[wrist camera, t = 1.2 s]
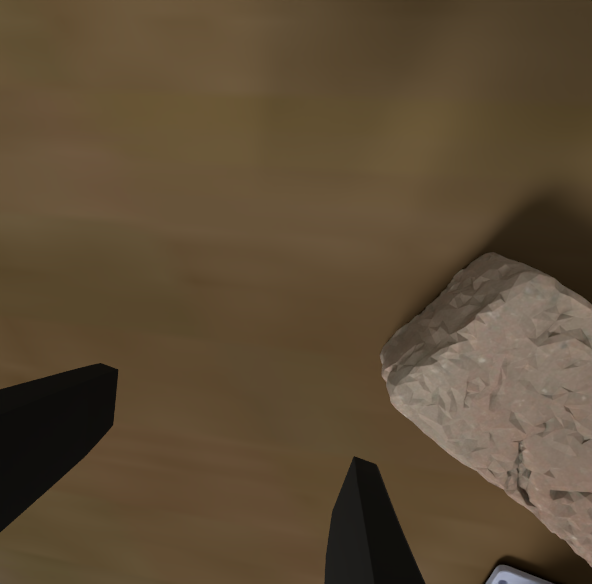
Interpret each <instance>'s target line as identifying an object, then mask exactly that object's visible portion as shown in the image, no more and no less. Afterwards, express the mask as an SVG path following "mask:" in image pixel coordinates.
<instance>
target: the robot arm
mask: <svg viewBox="0 0 592 584" xmlns="http://www.w3.org/2000/svg"><path fill="white" fill-rule="evenodd" d="M117 379H118V369H115V368H112V367H110V366H107V365H104V364H102V363H99V364H94V365H90V366H86V367H82V368H78V369H74V370H70V371H66V372H63V373H59V374H55V375H52V376H48V377H44V378H41V379H37V380H33V381H30V382H26V383H22V384H18V385H15V386H11V387H7V388H4V389H0V532H1V531H2V530H3V529H5V528H6V527H7V526H8V525H9V524H10V523H11V522H12V521H14V520H15V519H16V518H17V517H18V516H19V515H20V514H21V513H23V512H24V511H25V510H26V509H27V508H28V507H29V506H30V505H32V504H33V503H34V502H35V501H36V500H37V499H38V498H39V497H41V496H42V495H43V494H44V493H45V492H46V491H47V490H48V489H50V488H51V487H52V486H53V485H54V484H55V483H56V482H57V481H58V480H60V479H61V478H62V477H63V476H64V475H65V474H66V473H67V472H68V471H70V470H71V469H72V468H73V467H74V466H75V465H76V464H77V463H78V462H79V461H81V460H82V459H83V458H84V457H85V456H86V455H87V454H88V453H89V452H90V450H91V449H92V448H93V447H94V446H95V445H96V444H97V443H98V442H99V441H100V440H101V438H102V437H103V436H104V435H105V434H106V433H107V432H108V430H109V429H110V428H111V427H112V426H113V421H114V410H115V400H116V389H117ZM325 584H425V581H424V579H423V577H422V575H421V573H420V570H419V568H418V566H417V564H416V561H415V559H414V557H413V554H412V552H411V550H410V547H409V545H408V543H407V540H406V538H405V536H404V533H403V531H402V528H401V526H400V524H399V521H398V519H397V516H396V514H395V511H394V508H393V506H392V503H391V501H390V498H389V496H388V493H387V490H386V488H385V485H384V482H383V479H382V477H381V474H380V471H379V469H378V467H377V465H376V464H374V463H371V462H368V461H366V460H363V459H360V458H357V457H355V456H354V457H353V460H352V463H351V465H350V468H349V470H348V473H347V475H346V478H345V480H344V483H343V485H342V488H341V491H340V493H339V496H338V498H337V501H336V503H335V506H334V508H333V511H332V517H331V524H330V531H329V538H328V545H327V552H326V565H325ZM486 584H554V583H551V582H548V581H546V580H543V579H541V578H538V577H535V576H533V575H530V574H528V573H525V572H523V571H520V570H517V569H515V568H512V567H510V566H507V565H499V566H497V567H496V568H495V570H494V571H493V573H492V574H491V576H490V578H489V579H488V581H487V582H486Z"/></svg>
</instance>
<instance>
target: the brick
mask: <svg viewBox="0 0 592 584" xmlns="http://www.w3.org/2000/svg"><path fill="white" fill-rule="evenodd" d="M380 358H381V362H382V364H383V365H382V377H383V378H384V380H385V381H386V382H387V384H386V387H387V390H388V392H389V395H390V402H391V403H392V404H393V405H394V407H395V408H396V409H397V410H398V411H399V412H401V413H402V414H403V415H404V416H406V417H407V418H408V419H410V420H411V421H412V422H413V423H414V424H415V425H416V426H417V427H419V428H420V429H421V430H422V431H423V433H425V434H426V435H427V436H429V437H430V438H431V439H433V440H434V441H435V442H436V443H437V444H438V445H439V446H440V447H441V448H443V449H444V450H445V451H446V452H447V453H449V454H450V455H451V456H453V457H454V458H456V459H457V460H458V461H460V462H461V463H463V464H464V465H466V466H468V467H470V468H472V469H474V470H476V471H477V472H478V473H480V474H481V475H482V476H483V477H484V478H485V479H486V480H487V481H488V482H490V483H492V484H494V485H496V486H498V487H500V488H502V489H504V491H505V492H506V493H507V495H508V496H510V497H511V498H512V499H514V500H515V501H516V502H518V503H519V504H521V505H523V506H524V507H526V508H527V509H528V510H530V511H531V512H532V513H533V514H534V515H535V516H536V517H537V518H538V519H539V520H540V521H541V522H542V523H543V524H544V525H545V526H546V527H547V528H548V529H549V530H550V531H551V532H552V533H555V534H556V535H558V536H559V537H560V538H561V539H564V540H565V541H566V542H567V543H568V544H569V546H570V547H571V548H572V549H573V551H574V552H575V553H576V554H578V555H579V556H581V557H582V558H584V559H585V560H586V561H587V562H588V563H589V565H590V566H591V567H592V304H591V303H590V302H588V301H587V300H586V299H585V298H583V297H582V296H580V295H579V294H577V293H575V292H574V291H572V290H570V289H568V288H567V287H565V286H563V285H562V284H561V283H560V282H558V281H557V280H556V279H555V278H553V277H551V276H550V275H548V274H545V273H543V272H541V271H540V270H538V269H534V268H532V267H530V266H528V265H526V264H524V263H520V262H517V261H514V260H511V259H507V258H505V257H503V256H501V255H499V254H497V253H495V252H491V253H486V254H484V255H482V256H481V257H479V258H477V259H476V260H474V261H473V262H471V263H470V264H469V266H468V267H467V268H466V269H462V270H460V271H459V272H458V273H457V274H456V275H455V276H454V277H453V279H452V281H451V282H450V284H448V286H447V288H446V289H445V290H444V291H442V292H441V295H440V296H439V297H438V298H436V299H435V300H434V301H433V302H432V303H431V304H429V305H428V306H427V307H426V309H425V310H424V311H423V312H422V313H421V314H420V315H416V316H415V317H414V318H413V319H412V320H411V321H410V322H409V323H408V324H406V325H404V326H403V327H401V328H400V329H399V330H398V331H397V332H396V333H395V334H394V335H393V337H392V338H391V339H390V340H389V341H388V342H387V343H386V344H385V345H384V347H383V349H382V352H381V354H380Z"/></svg>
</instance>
